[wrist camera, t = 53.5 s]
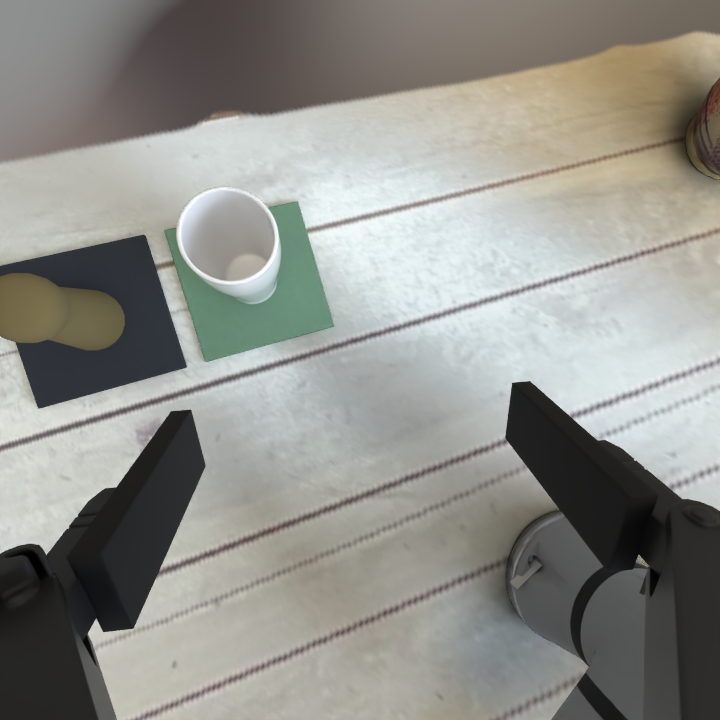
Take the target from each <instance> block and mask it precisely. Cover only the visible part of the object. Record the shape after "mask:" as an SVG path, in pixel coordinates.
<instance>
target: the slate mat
mask: <svg viewBox="0 0 720 720" xmlns="http://www.w3.org/2000/svg"><path fill="white" fill-rule="evenodd" d="M11 273H30V274H34V275H37V276H40V277H43V278H46V279H48V280H50V281H51V282H53V283H54V284H56V285H57V286H58V287H67V288H78V289H89V290H97V291H101V292H104V293H107V294H108V295H110V296H111V297H113V298H114V299H115V300H116V301H117V302H118V303H119V305H120V306H121V307H122V310H123V313H124V315H125V326H124V329H123V332H122V334H121V336H120V337H119V338H118V340H117V341H116V342H115V343H113V344H112V345H110V346H109V347H107V348H104V349H101V350H93V351H87V350H83V349H80V348H76V347H72V346H69V345H65V344H62V343H58V342H55V341H51V340H44V341H41V342H38V343H18V342H16V345H17V348H18V351H19V353H20V356H21V359H22V362H23V365H24V368H25V371H26V374H27V377H28V380H29V383H30V386H31V389H32V392H33V395H34V397H35V400H36V403H37V406H38V408H43V407H46V406H50V405H54V404H57V403H61V402H64V401H68V400H72V399H75V398H79V397H82V396H86V395H89V394H93V393H97V392H100V391H104V390H107V389H111V388H115V387H118V386H122V385H125V384H129V383H132V382H136V381H140V380H143V379H147V378H150V377H154V376H158V375H161V374H165V373H168V372H172V371H175V370H179V369H183V368H186V367H187V366H186V363H185V360H184V357H183V354H182V350H181V347H180V344H179V341H178V338H177V334H176V331H175V328H174V325H173V322H172V319H171V315H170V312H169V309H168V306H167V303H166V300H165V296H164V293H163V290H162V287H161V284H160V281H159V277H158V274H157V271H156V268H155V265H154V262H153V258H152V255H151V252H150V249H149V246H148V243H147V239H146V236H145V235H141V236H136V237H131V238H127V239H122V240H118V241H113V242H108V243H104V244H99V245H95V246H90V247H85V248H81V249H76V250H72V251H67V252H62V253H58V254H53V255H49V256H44V257H39V258H35V259H30V260H26V261H21V262H16V263H12V264H7V265H3V266H0V276H4V275H7V274H11Z"/></svg>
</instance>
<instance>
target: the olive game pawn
mask: <svg viewBox="0 0 720 720" xmlns="http://www.w3.org/2000/svg"><path fill="white" fill-rule="evenodd" d="M124 326H125V315H124V313H123V310H122V307H121V306H120V305H119V303H118V302H117V301H116V300H115V299H114V298H113V297H111V296H110V295H108V294H107V293H104V292H101V291H97V290H89V289H78V288H67V287H58V286H57V285H56V284H54V283H53V282H51V281H50V280H48V279H46V278H43V277H40V276H37V275H34V274H30V273H11V274H7V275H4V276H0V336H1V337H2V338H5V339H7V340H11V341H15V342H18V343H38V342H41V341H44V340H51V341H55V342H58V343H62V344H65V345H69V346H72V347H76V348H80V349H83V350H87V351H93V350H101V349H104V348H107V347H109V346H110V345H112V344H113V343H115V342H116V341H117V340H118V338H119V337H120V336H121V334H122V332H123V329H124Z"/></svg>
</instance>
